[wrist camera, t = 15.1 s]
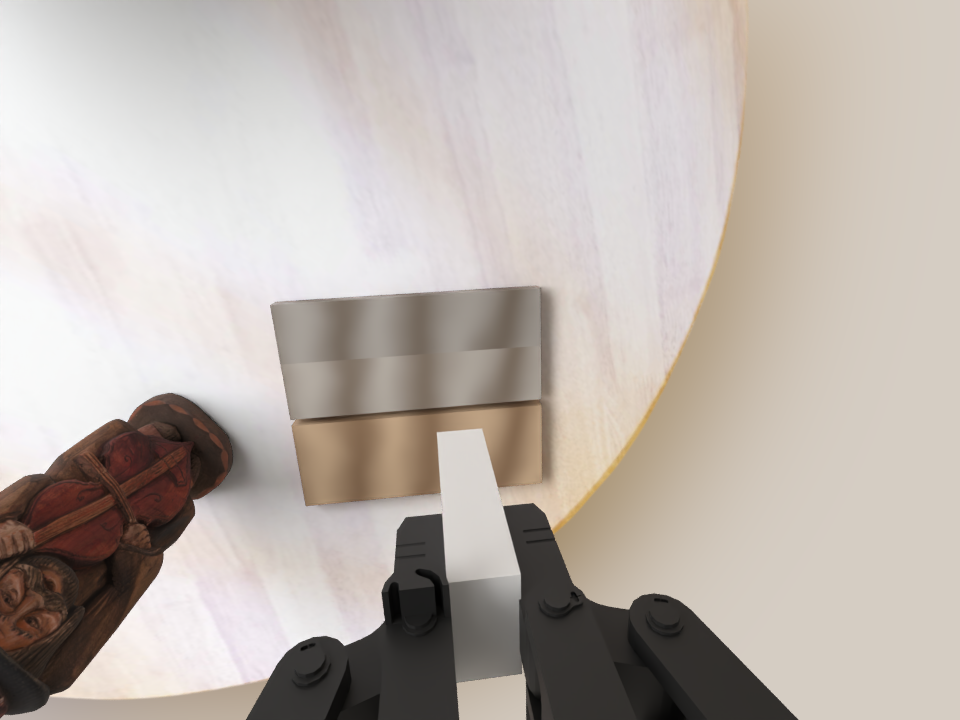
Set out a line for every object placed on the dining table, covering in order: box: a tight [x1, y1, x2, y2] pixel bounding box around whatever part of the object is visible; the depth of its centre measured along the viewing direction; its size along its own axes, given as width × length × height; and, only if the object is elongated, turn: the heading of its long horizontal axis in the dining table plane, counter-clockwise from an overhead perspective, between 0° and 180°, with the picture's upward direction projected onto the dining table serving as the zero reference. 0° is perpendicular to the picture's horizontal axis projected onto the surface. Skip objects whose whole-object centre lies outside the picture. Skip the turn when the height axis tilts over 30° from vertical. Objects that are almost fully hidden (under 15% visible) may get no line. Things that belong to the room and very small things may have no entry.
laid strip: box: [270, 286, 541, 420], centre depth 41 cm, size 22×10×2 cm, turn 93°
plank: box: [292, 399, 542, 506], centre depth 44 cm, size 22×8×2 cm, turn 93°
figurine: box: [0, 393, 233, 718], centre depth 31 cm, size 10×8×25 cm
